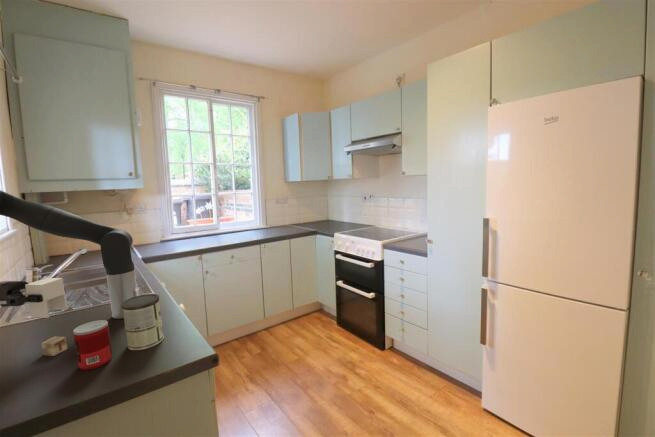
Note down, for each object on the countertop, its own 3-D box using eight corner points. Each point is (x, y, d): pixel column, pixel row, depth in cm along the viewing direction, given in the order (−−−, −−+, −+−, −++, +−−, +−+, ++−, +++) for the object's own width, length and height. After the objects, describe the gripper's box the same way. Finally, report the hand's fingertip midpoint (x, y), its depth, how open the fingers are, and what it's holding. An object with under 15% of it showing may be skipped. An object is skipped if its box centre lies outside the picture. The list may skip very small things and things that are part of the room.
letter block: (43, 355, 95) (41, 342, 95) (57, 348, 99) (55, 336, 99) (54, 356, 94) (52, 343, 94) (67, 349, 98) (65, 336, 98)
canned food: (119, 356, 92) (114, 321, 91) (91, 372, 85) (85, 334, 83) (100, 353, 95) (95, 318, 93) (72, 368, 87) (66, 331, 86)
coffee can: (123, 342, 100) (117, 300, 99) (158, 331, 107) (153, 291, 106) (131, 354, 93) (125, 309, 91) (168, 341, 100) (163, 298, 98)
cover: (31, 317, 93) (25, 284, 92) (52, 308, 99) (46, 278, 97) (47, 317, 92) (41, 284, 90) (67, 309, 98) (62, 278, 96)
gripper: (-23, 290, 90) (24, 290, 87) (32, 274, 104) (74, 274, 101) (-18, 315, 91) (29, 316, 87) (36, 296, 105) (78, 296, 102)
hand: (53, 294), depth 94 cm, fingers closed on cover, 6 cm apart
